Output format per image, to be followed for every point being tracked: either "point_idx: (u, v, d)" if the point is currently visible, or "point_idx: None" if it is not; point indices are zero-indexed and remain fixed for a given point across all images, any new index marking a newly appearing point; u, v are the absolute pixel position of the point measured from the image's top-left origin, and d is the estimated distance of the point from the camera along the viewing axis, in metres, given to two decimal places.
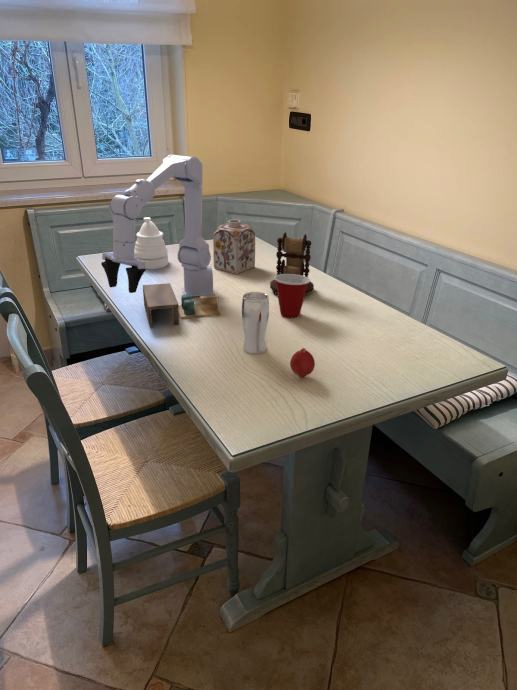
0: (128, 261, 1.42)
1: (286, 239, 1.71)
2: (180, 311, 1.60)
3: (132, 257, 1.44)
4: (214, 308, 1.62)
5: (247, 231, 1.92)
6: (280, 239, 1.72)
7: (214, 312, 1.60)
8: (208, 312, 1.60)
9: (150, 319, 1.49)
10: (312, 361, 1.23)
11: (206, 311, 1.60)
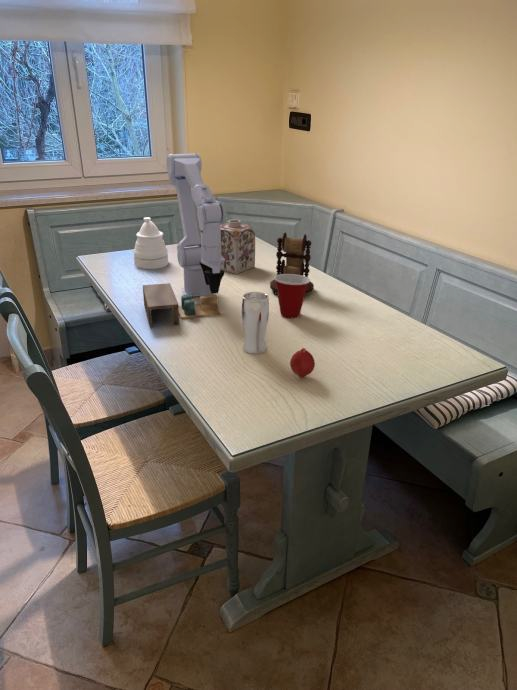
0: None
1: (286, 239, 1.71)
2: (181, 312, 1.59)
3: None
4: (214, 308, 1.62)
5: (247, 231, 1.92)
6: (280, 239, 1.72)
7: (214, 312, 1.60)
8: (208, 312, 1.60)
9: (150, 319, 1.49)
10: (312, 361, 1.23)
11: (206, 311, 1.60)
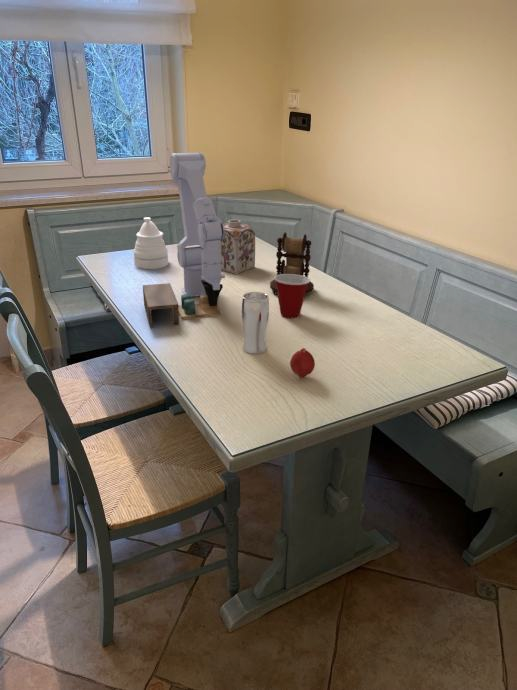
0: None
1: (286, 239, 1.71)
2: (181, 311, 1.59)
3: None
4: (214, 307, 1.62)
5: (247, 231, 1.92)
6: (280, 239, 1.72)
7: (215, 311, 1.60)
8: (209, 311, 1.60)
9: (150, 319, 1.49)
10: (312, 361, 1.23)
11: (206, 310, 1.60)
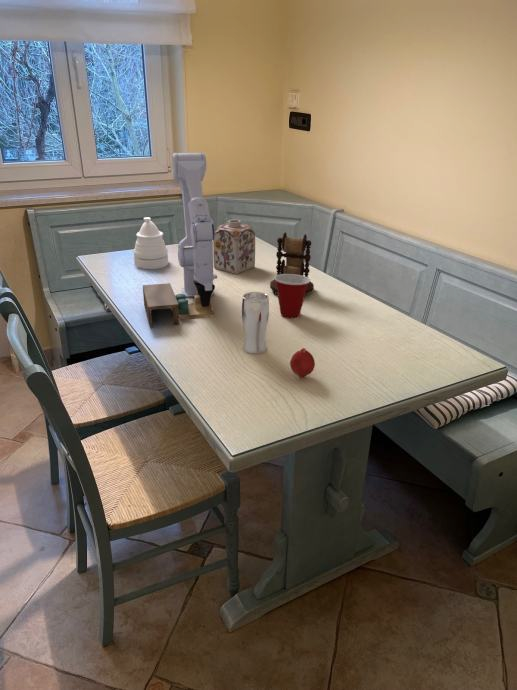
0: None
1: (286, 239, 1.71)
2: None
3: None
4: (208, 307, 1.61)
5: (247, 231, 1.92)
6: (280, 239, 1.72)
7: (208, 311, 1.59)
8: (202, 311, 1.59)
9: (150, 319, 1.49)
10: (312, 361, 1.23)
11: (200, 310, 1.60)
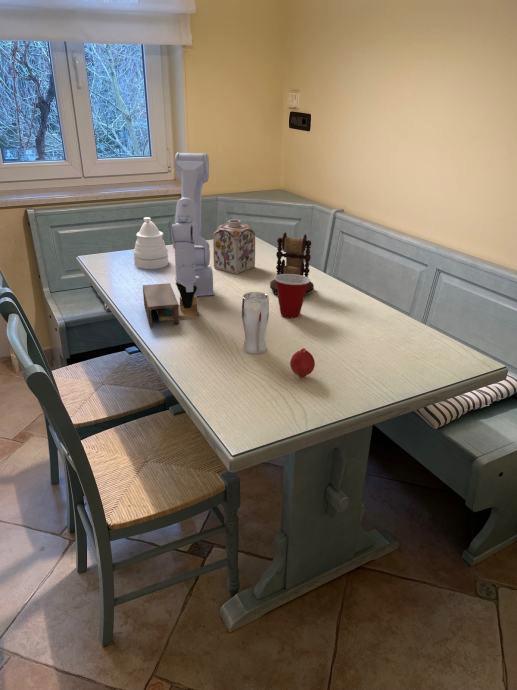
0: None
1: (286, 239, 1.71)
2: (160, 312, 1.58)
3: None
4: (194, 309, 1.60)
5: (247, 231, 1.92)
6: (280, 239, 1.72)
7: (193, 313, 1.58)
8: (187, 313, 1.58)
9: (150, 319, 1.49)
10: (312, 361, 1.23)
11: (185, 312, 1.59)
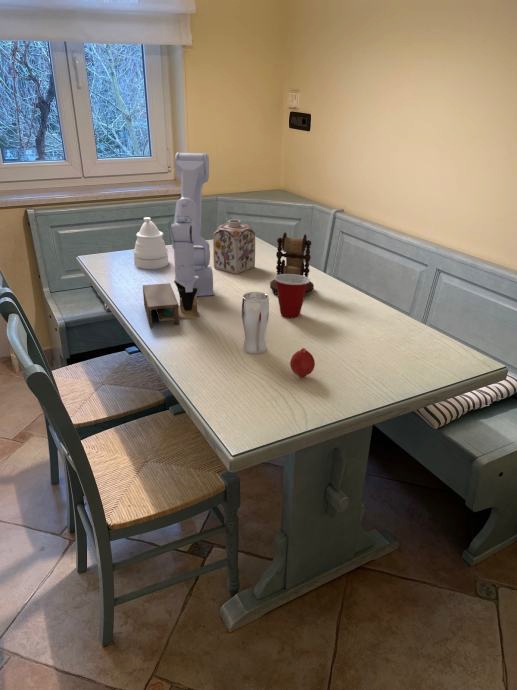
0: None
1: (286, 239, 1.71)
2: (160, 313, 1.58)
3: None
4: (194, 310, 1.60)
5: (247, 231, 1.92)
6: (280, 239, 1.72)
7: (194, 314, 1.58)
8: (188, 314, 1.58)
9: (150, 319, 1.49)
10: (312, 361, 1.23)
11: (186, 313, 1.59)
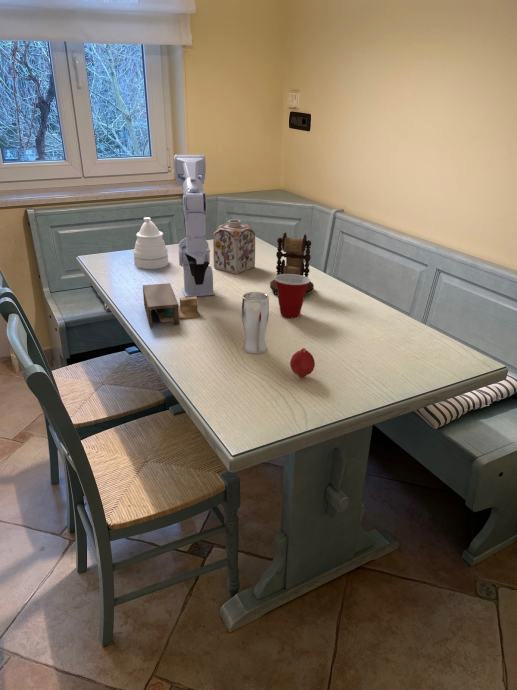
0: None
1: (286, 239, 1.71)
2: (160, 314, 1.57)
3: None
4: (194, 310, 1.60)
5: (247, 231, 1.92)
6: (280, 239, 1.72)
7: (194, 314, 1.58)
8: (188, 314, 1.58)
9: (150, 319, 1.49)
10: (312, 361, 1.23)
11: (186, 313, 1.59)
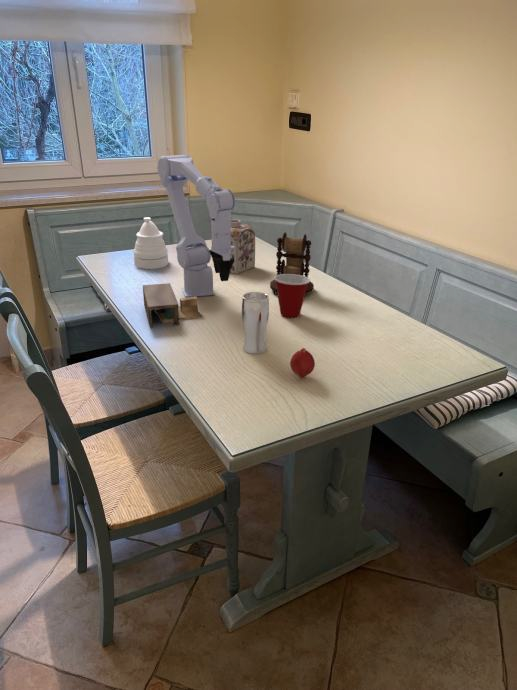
0: None
1: (286, 239, 1.71)
2: (161, 315, 1.57)
3: None
4: (194, 310, 1.60)
5: (247, 231, 1.92)
6: (280, 239, 1.72)
7: (195, 314, 1.58)
8: (189, 314, 1.58)
9: (150, 319, 1.49)
10: (312, 361, 1.23)
11: (187, 313, 1.59)
